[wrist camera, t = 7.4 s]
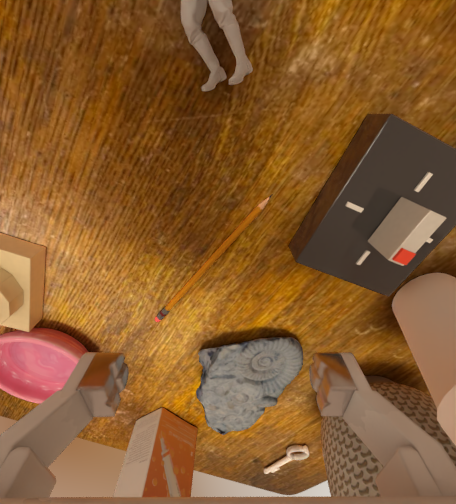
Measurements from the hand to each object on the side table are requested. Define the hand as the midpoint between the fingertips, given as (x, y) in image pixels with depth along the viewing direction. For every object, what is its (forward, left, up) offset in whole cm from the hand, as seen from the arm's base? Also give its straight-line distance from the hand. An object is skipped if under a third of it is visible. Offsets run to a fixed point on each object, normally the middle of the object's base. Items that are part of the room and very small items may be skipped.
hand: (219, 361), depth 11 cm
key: (+38, +27, -14) cm, 49 cm away
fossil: (+18, +9, -14) cm, 25 cm away
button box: (+13, -19, -14) cm, 27 cm away
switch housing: (-7, +11, -14) cm, 19 cm away
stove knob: (-7, +11, -11) cm, 17 cm away
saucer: (+24, -14, -14) cm, 31 cm away
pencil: (+4, 0, -14) cm, 15 cm away
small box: (+35, +4, -14) cm, 38 cm away
